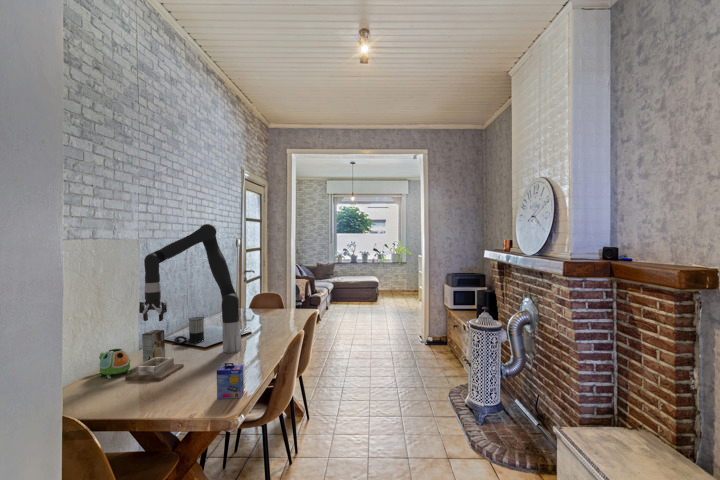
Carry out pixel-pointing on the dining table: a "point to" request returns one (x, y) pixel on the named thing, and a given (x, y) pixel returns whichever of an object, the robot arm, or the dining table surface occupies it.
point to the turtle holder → (114, 362)
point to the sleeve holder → (155, 369)
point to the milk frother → (193, 330)
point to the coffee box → (153, 344)
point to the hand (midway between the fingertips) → (153, 320)
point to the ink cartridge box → (230, 381)
